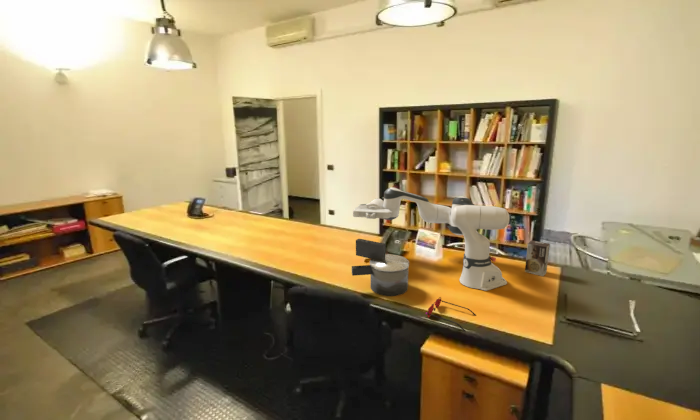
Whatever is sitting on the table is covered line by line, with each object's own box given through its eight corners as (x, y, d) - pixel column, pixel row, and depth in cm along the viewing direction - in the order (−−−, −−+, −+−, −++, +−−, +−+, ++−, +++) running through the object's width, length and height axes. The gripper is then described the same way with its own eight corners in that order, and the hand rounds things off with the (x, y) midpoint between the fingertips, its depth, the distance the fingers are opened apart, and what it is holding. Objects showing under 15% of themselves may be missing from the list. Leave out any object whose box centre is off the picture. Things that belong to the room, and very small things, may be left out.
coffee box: (546, 272, 180) (550, 243, 176) (543, 276, 175) (547, 246, 171) (528, 268, 186) (531, 239, 182) (524, 271, 181) (527, 242, 177)
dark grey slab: (415, 261, 167) (415, 243, 165) (398, 275, 152) (398, 256, 150) (367, 250, 182) (366, 234, 179) (347, 262, 167) (346, 244, 164)
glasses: (438, 304, 152) (439, 294, 150) (476, 316, 142) (477, 305, 141) (425, 319, 141) (425, 308, 139) (465, 332, 131) (466, 321, 130)
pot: (402, 277, 177) (402, 256, 174) (412, 294, 160) (413, 270, 157) (350, 281, 174) (349, 259, 171) (354, 298, 157) (354, 274, 154)
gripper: (392, 216, 192) (388, 223, 179) (356, 215, 197) (350, 221, 184) (392, 205, 190) (389, 212, 177) (356, 204, 195) (350, 210, 182)
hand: (369, 217), depth 181 cm, fingers closed
